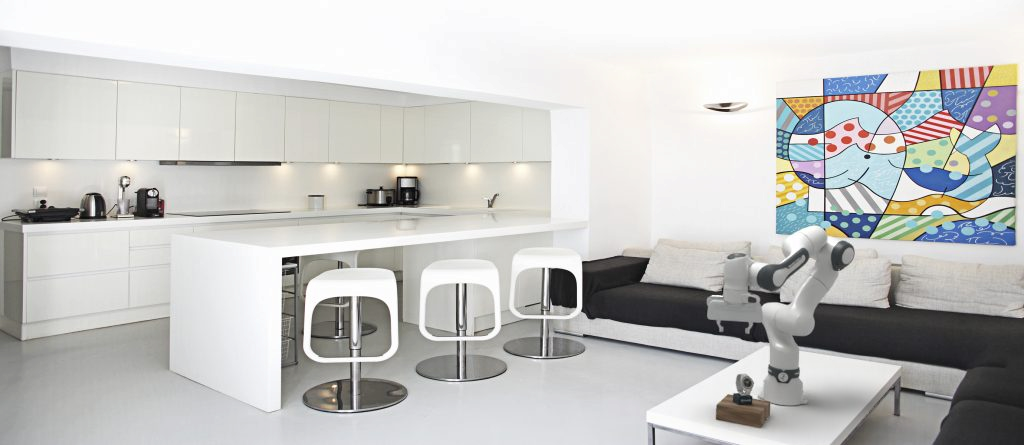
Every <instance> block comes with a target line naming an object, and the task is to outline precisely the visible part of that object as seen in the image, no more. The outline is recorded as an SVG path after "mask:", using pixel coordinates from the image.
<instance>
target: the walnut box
mask: <svg viewBox="0 0 1024 445" xmlns="http://www.w3.org/2000/svg"><path fill="white" fill-rule="evenodd" d="M715 407H716V408H715V420H716V421H720V422H726V423H732V424H736V425H742V426H746V427H751V428H752V427H753V428H756V429H757V428H758V429H761V427H763V425H764V424H765V422H766V421H767V420H768V419H769V418H770V416H771V402H770V401H766V400H764V399H760V398H758V399H757V398H754V397H753V398H752V405H738V404H736V403H735V402H733V394H729V393H728V394H726V395H725V396H724V397H723V398H722V399H721V400H720V401H719V402H718V403H716V406H715ZM767 418H768V419H767Z"/></svg>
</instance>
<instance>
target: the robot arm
mask: <svg viewBox="0 0 1024 445" xmlns="http://www.w3.org/2000/svg"><path fill="white" fill-rule="evenodd" d="M781 251H782V255H783V256H784V259H783V260H782V261H781V262H779V263H768V262H767V263H766V262H762V261H761V262H760V261H757V260H754V259H753V258H751V257H749V256H748V255H747V254H746V253H743V252H738V253H736V252H735V253H734V252H733V253H731V254H729V255H727V257H726V259H725V261H724V266H723V267H724V268H723V279H724V284H723V288H722V289H723V294H722V295H715V294H714V295H713V294H712V295H710V296H708V297H707V299H706V305H707V313H706V314H707V315H706V317H707V319H708V320H713V321H716V324H717V327H718V328H719V332H720V333H724V326H722V325H721V321H725V322H726V321H727V322H728V321H729V322H743V323H748V327H745V330H744V332H745V334H747V335H750V331H751V329H752V327H753V325H754V323H756V324H757V323H758V324H760V323H762V325H763V327H764V329H765V332H766V335H767V339H768V343H769V364H768V366H767V375H766V376H765V377H764V378H763V381H762V382H763V385H762V391H761V392H759V394H758V395H757V398H758V399H760V400H764V401H770V404H774V405H778V406H779V405H780V406H789V407H790V406H798V405H807V404H808V403H809V402H808V399H807V398H806V397H805V395H804V383H803V381H802V380H801V379H800V373H801V369H800V366H799V364H800V348H799V346H798V344H797V343H796V341H795V339H794V337H806V336H808V335H810V334H811V333H812V332H813V330H814V329H815V324H816V323H815V322H816V321H815V318H814V313H815V309H816V308H817V306H818V305H819V304H820V302H821V301H822V300H823V298H824V297H825V296H826V295H827V294H828V292H829V291H830V290H831V288H832V287H833V286H834V284H835V283H836V281H837V278H838V277H839V272H840V271H842V270H844V269H845V268H847V267H848V266H849V265H850V264H851V263H852V262H853V260H854V259H855V248H854V245H852V244H851V243H850V242H848V241H846V240H842V239H840V238H837V237H834V236H830V235H827V231H825V229H824V228H823V227H821V226H819V225H810V226H807V227H804V228H802V229H799V230H797V231H795V232H793V233H792V234H790V235H789V236H787V237H786V238H785V239H783V242H782V245H781ZM809 259H811V260H815V262H814V264H813V266H812V267H811V268H810V269H809V270H808V271H807V272H806V273H804V275H802V277H801V278H800V279H799V280H798V282H797V283H796V284H795V286H794V287H793V288H792V290H791V293H792V296H793V298H792V301H791V302H790V303H789V304H785V303H781V302H766V303H763V305H762V304H761V303H760V302H761V297H760V296H759V295H757V294H755V293H752V292H749V286H750V287H754V288H757V289H763V290H765V291H768V292H776V291H778V290H780V289H781V288H782V287H783V286H784V285H785V283H786V282H787V280H788V279H790V277H791V276H793V275H795V273H797V272H798V271H799V270H801V269H802V268H803V267H804V266H805V265H806V264H807V263H808V262H809ZM793 336H794V337H793Z"/></svg>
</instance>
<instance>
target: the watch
mask: <svg viewBox="0 0 1024 445" xmlns="http://www.w3.org/2000/svg"><path fill="white" fill-rule="evenodd" d="M754 385H755V382H754V381H753V379H752V378H751V376H750V375H748V374H747V373H739V374H736V378H735V388H736V392H733V393H732V395H733V402H735V403H736V404H738V405H752V398H753V399H754V397H753V395H751V392H752V391H753V388H754Z"/></svg>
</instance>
